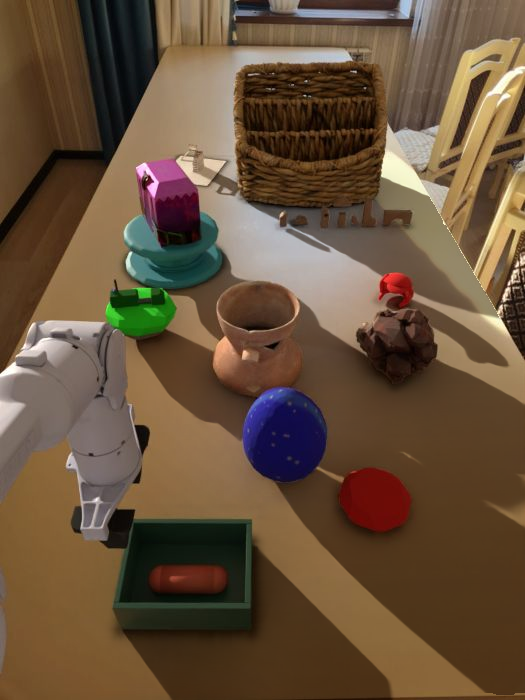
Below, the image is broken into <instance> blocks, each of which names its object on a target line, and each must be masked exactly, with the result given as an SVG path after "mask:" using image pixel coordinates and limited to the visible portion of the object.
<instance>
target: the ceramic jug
mask: <svg viewBox="0 0 525 700" xmlns="http://www.w3.org/2000/svg"><path fill="white" fill-rule="evenodd" d="M300 308H301V304H300V301H299V299H298V297H297V295H295V294H294V292H292V291H291V290H290V289H288V288H287V287H286V286H284V285H282V284H279V283H276V282H271V281H269V280H268V281H267V280H251V281H250V280H249V281H244V282H240V283H238V284H235V285H232V286H230V287H229V288H228V289H226V290H225V291H224V292H222V294H221V295H220V296H219V298H218V299H217V302H216V315H217V319H218V323H219V325H220V328H221V331H222V332H223V334H224V336H223V338H221V340H220V341H218V343H217V345H216V346H215V348H214V351H213V355H212V359H211V360H212V361H211V362H212V363H211V364H212V367H213V371H214V372H215V374H216V376H217V378H218V380H219V381H220V383H222V384H223V385H224V386H225V387H226V388H228V389H229V390H230V391H233V392H235V393H237V394H240V395H243V396H248V397H256V398H259V396H260V395H261V394H262V393H264V392H265V391H267V390H269V389H272V388H277V387H288V388H290V387H291V386H292V385H293V384H294V383H295V382H296V381H297V379H298V378H299V377H300V375H301V373H302V370H303V366H304V356H303V352H302V349H301V347H300V346H299V344H298V342H297V341H295V339H294V338H293V337H292V336H291V335H292V333H293V332H294V329H295V327H296V324H297V322H298V320H299V315H300V312H301V311H300V310H301V309H300Z"/></svg>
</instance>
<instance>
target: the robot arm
mask: <svg viewBox="0 0 525 700" xmlns="http://www.w3.org/2000/svg"><path fill="white" fill-rule="evenodd" d="M126 344H127V343H126V336H124V334H122V332H121V330H119V329H116V330H114V328H113V326H112V324H109V323H108V322H107V321H83V320H82V321H81V320H60V319H59V320H57V319H50V320H49V319H48V320H46V321H45V320H39V321H34V322H33V323H32V324H31V325H30V327H29V329H28V331H27V334H26V337H25V342H24V344H23V346H22V348H20V349H19V353H17V355H15V357H14V362H12V363H11V364H10V365H9V366H8V367H6V368H5V369H4V370H3V371H2V372H1V373H0V505H1V504H2V502H3V501H4V500H5V498H6V496H7V494H8V493H9V491H10V490H11V488H12V486H13V485H14V483H15V482H16V480H17V478H18V477H19V475H20V474H21V472H22V471H23V469H24V467H25V465H26V464H27V462H28V461H29V459H30V457H31V456H32V454H33V453H39V452H45V451H49V450H51V449H53V448H56V447H57V446H59V444H61V443H62V442H63V441H64V440H65V438H66V440H67V442H68V446H69V448H70V451H71V452H70V453H69V455H68V458H67V460H66V463H65V468H66V471H67V472H68V473H71V474H76V475H77V483H78V490H79V499H80V505H75V506H74V509H73V512H72V515H71V518H70V526H71V529H72V531H73V532H74V533H75V534H81V535H82V538H83V539H84V541H93V542H95V541H96V542H97V541H99V542H100V543H101V544H102V545H103V546H104V547H106V549H112V550H113V549H114V550H115V549H116V550H117V549H118V550H119V549H120V550H122V549H123V550H124V549H126V548H127V546H128V541H129V532H130V530H131V527H132V524H133V519H135V513H136V508H118V507H119V505H120V503H121V501H122V500H123V499H124V497H125V495H126V494H127V492H128V491H129V489H130V487H131V486H132V485H133V484H134V485H135V484H138V485H140V484H141V483H140V482H141V479H142V473H143V460H144V459H143V456H144V453H145V451H146V449H147V447H148V446H149V441H150V436H151V431H150V428H149V427H148V426H147V425H144V424H135V419H136V411H135V408H134V404H133V403H128V400H127V395H126V393H127V389H128V386H129V382H128V379H129V376H128V373H127V345H126ZM5 580H6V579H5V576H4V572H3V570H2V567H1V565H0V602H4V601H5V599H6V597H7V584H6V581H5ZM7 633H8V631H7V618H6V615H5V610H4V608H3V606H2V604H1V603H0V676H1V675H2V671H3V667H4V662H5V656H6V649H7V636H8V635H7Z"/></svg>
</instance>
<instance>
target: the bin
mask: <svg viewBox="0 0 525 700" xmlns="http://www.w3.org/2000/svg"><path fill="white" fill-rule="evenodd" d="M160 565H218V566H221V567H223V568H224V569H225V570H226V572H227V574H228V584H227V586H226V588H225V589H224V590H223V591H222V592H220V593H218V594H158V593H156V592H154V591H153V590H152V589H151V588H150V585H149V575H150V573H151V571H152V570H153V569H154V568H155V567H157V566H160ZM252 574H253V519H252V518H134V519H133V524H132V527H131V530H130V532H129V541H128V546H127V548H126V549H123V552H122V557H121V562H120V567H119V571H118V577H117V583H116V587H115V592H114V597H113V603H112V607H111V608H112V609H111V610H112V611H113V613H114V616H115V618H116V620H117V623H118V625H119V628H120V630H246V631H247V630H252V590H253V589H252V583H253V582H252V581H253V580H252V579H253V578H252V577H253V575H252Z"/></svg>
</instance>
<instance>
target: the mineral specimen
mask: <svg viewBox="0 0 525 700" xmlns="http://www.w3.org/2000/svg"><path fill="white" fill-rule="evenodd" d="M429 322H430V317H428V316H427V315H426V314H425V313H424V312H423V311H422V310H421V309H418V308H413V309H412V308H409V307H405V308H399V309H398V310H391V309H390V308H381V309H380V310H378V311H377V312H375V314H374V317H373V322H368V321H367V322H363V323H362V325H361V326H360V327H359V328H357V330H356V333H355V337H356V342H357V343H358V344H359V348H360V349H361V350H362V351H363V353H364V352H365V353H366V356H367V358H368V359H369V361H371V365H372V366H373V367H374V368H375V369H376V370H377V371H378V372H381V373H383V375H384V376H387V377H388V379H389V380H390V382H391V383H392V384H398V383H400V382H401V383H402V382H403V381H404V379H405V377H406V376H409V375H418V374H419V372H423V371H424V369H425V368H427V367H428V366H429V365H431V364H433V360H434V359H437V356H438V345H439V344H438V343H436V342H435V330H434V329H433V327H432V325H430V323H429Z"/></svg>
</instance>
